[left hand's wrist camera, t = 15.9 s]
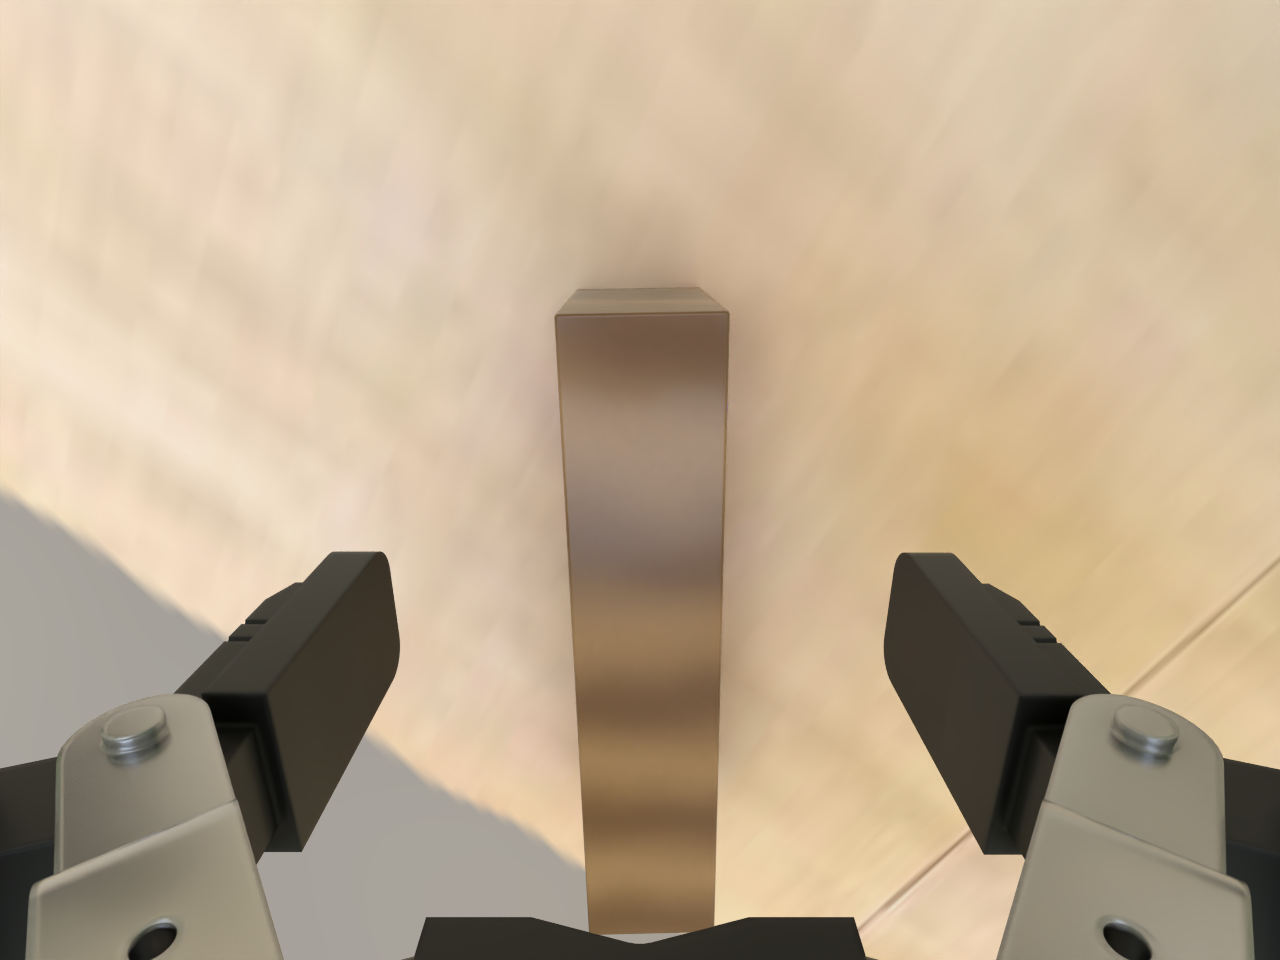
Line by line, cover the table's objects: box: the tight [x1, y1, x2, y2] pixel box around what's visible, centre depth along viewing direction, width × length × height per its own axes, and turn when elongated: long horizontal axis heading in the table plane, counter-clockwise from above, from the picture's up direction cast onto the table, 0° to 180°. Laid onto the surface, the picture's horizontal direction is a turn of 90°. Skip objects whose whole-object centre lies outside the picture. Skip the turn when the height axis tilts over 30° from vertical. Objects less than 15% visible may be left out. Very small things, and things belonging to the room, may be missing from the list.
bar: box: [555, 287, 730, 935], centre depth 26 cm, size 22×5×8 cm, turn 1°
